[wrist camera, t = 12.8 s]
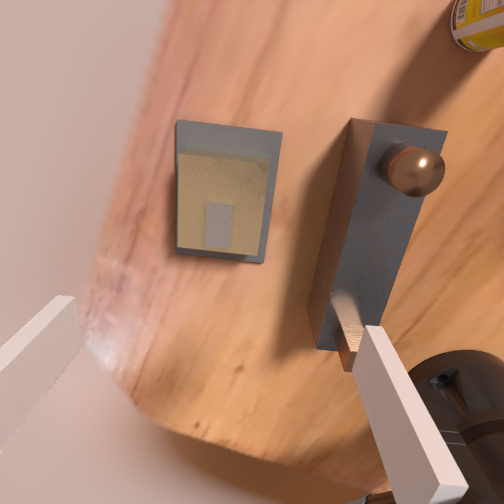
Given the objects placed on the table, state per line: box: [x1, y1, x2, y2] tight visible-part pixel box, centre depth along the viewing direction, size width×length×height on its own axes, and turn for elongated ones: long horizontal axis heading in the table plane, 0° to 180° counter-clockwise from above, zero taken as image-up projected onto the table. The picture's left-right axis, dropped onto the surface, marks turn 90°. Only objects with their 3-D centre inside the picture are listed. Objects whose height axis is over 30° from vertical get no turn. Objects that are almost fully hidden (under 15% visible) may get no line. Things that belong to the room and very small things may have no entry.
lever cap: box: [177, 148, 270, 256], centre depth 31 cm, size 9×8×4 cm
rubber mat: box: [176, 120, 282, 263], centre depth 33 cm, size 14×10×1 cm
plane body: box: [307, 118, 448, 372], centre depth 30 cm, size 22×6×11 cm, turn 174°
